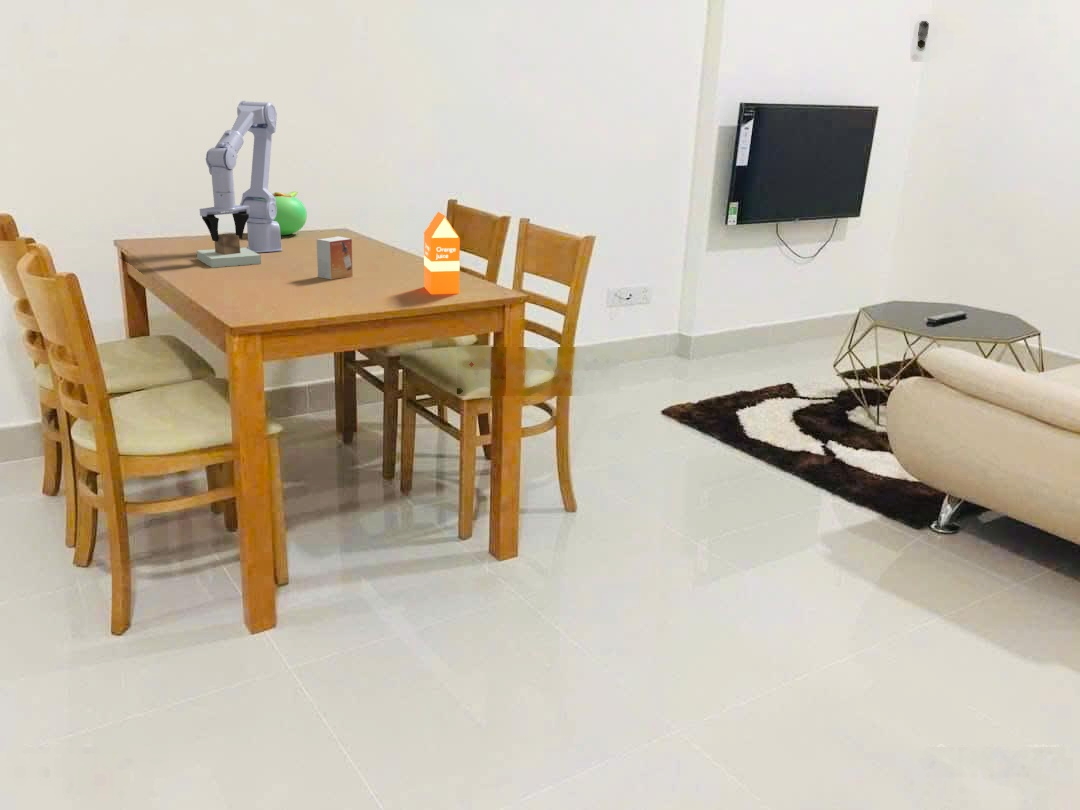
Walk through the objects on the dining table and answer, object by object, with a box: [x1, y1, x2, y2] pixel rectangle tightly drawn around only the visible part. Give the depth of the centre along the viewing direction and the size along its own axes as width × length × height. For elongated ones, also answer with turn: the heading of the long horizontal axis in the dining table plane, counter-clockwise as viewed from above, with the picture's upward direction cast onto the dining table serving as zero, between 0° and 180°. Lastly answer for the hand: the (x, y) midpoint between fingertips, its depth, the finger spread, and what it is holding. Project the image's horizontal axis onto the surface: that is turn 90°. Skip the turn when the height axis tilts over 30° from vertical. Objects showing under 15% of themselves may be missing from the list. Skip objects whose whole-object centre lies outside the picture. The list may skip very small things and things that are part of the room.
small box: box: [316, 235, 354, 281], centre depth 242 cm, size 8×6×10 cm
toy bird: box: [254, 191, 308, 236], centre depth 301 cm, size 18×17×15 cm
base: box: [196, 246, 262, 268], centre depth 256 cm, size 14×14×2 cm
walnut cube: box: [214, 232, 241, 255], centre depth 255 cm, size 5×5×5 cm
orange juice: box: [423, 211, 461, 295], centre depth 230 cm, size 8×9×20 cm
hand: (227, 239), depth 255 cm, fingers open, 7 cm apart
